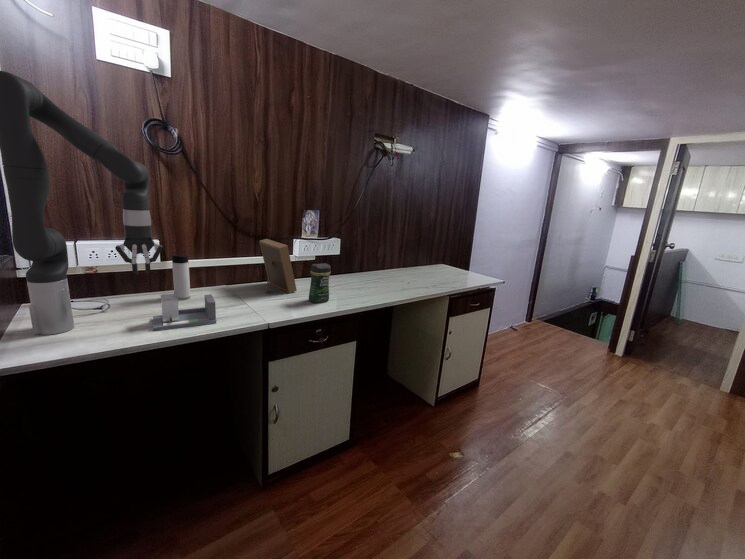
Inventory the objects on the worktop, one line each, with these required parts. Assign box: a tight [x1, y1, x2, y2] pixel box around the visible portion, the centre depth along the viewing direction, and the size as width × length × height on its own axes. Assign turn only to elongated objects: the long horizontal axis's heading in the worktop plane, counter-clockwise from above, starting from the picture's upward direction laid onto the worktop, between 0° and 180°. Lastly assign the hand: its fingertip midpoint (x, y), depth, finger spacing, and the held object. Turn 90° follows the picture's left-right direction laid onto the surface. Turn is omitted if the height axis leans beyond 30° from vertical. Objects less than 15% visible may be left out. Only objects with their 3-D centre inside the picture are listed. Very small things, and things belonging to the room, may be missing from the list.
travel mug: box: [171, 254, 191, 301], centre depth 145 cm, size 6×7×20 cm
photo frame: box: [258, 238, 297, 294], centre depth 170 cm, size 15×22×25 cm
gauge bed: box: [152, 294, 217, 332], centre depth 123 cm, size 20×12×8 cm, turn 123°
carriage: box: [160, 293, 179, 323], centre depth 120 cm, size 5×9×9 cm, turn 33°
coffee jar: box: [308, 262, 332, 304], centre depth 159 cm, size 10×8×19 cm
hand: (142, 273), depth 113 cm, fingers closed
